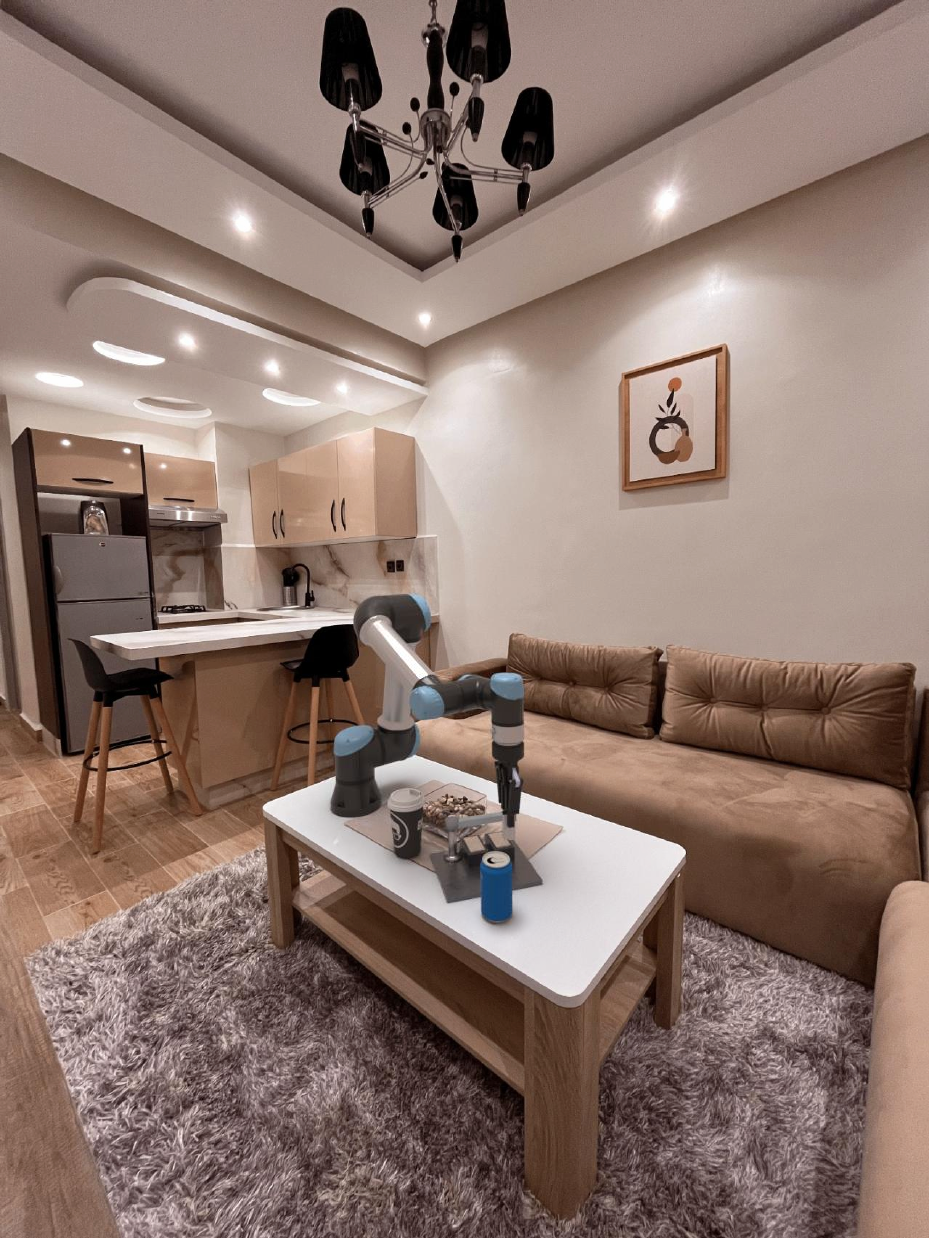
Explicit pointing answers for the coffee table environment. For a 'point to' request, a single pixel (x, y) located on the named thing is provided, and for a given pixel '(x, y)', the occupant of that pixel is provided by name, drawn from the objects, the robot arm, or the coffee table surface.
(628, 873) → the coffee table surface
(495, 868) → the beverage can
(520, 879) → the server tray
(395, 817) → the coffee cup
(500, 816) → the cable arm
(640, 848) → the coffee table surface
